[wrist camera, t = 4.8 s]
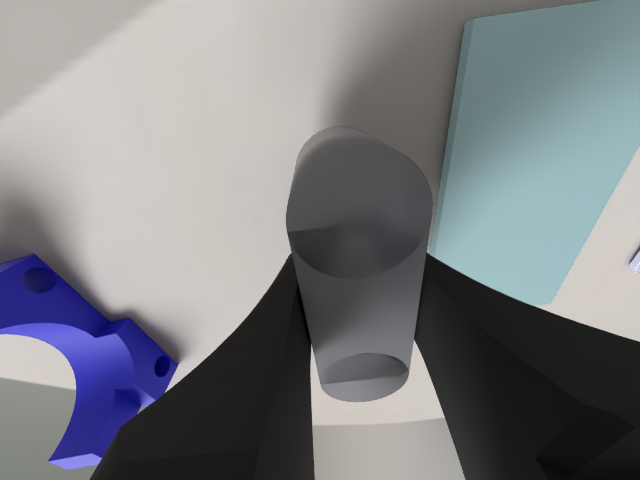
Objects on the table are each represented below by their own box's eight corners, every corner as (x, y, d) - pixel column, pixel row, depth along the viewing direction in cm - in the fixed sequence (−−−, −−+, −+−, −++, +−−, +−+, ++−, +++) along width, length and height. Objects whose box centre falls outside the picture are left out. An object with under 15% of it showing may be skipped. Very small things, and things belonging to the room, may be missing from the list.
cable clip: (179, 362, 19) (132, 458, 14) (131, 373, 20) (68, 469, 14) (60, 245, 13) (-100, 337, 8) (-6, 264, 14) (-199, 362, 8)
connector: (381, 120, 8) (443, 134, 5) (377, 333, 15) (402, 415, 11) (287, 132, 9) (270, 157, 5) (323, 340, 15) (329, 423, 11)
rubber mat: (705, -12, 9) (730, -19, 8) (543, 297, 17) (551, 303, 16) (464, 23, 9) (474, 17, 8) (420, 311, 17) (423, 318, 16)
